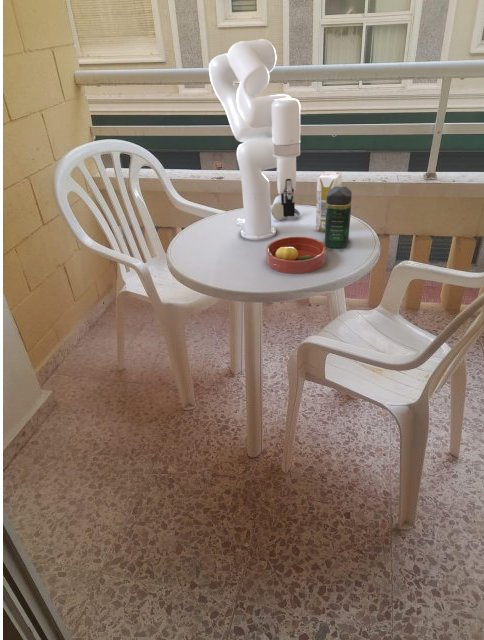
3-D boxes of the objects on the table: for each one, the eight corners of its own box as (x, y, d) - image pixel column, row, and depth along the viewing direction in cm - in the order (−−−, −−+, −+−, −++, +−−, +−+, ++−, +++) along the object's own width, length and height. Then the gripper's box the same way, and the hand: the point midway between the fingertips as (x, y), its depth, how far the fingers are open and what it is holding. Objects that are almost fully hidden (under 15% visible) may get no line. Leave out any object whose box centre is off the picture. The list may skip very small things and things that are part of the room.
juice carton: (314, 231, 162) (315, 177, 151) (320, 222, 168) (322, 170, 157) (335, 233, 159) (337, 178, 148) (340, 224, 166) (343, 171, 155)
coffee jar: (347, 251, 147) (351, 194, 137) (322, 249, 149) (324, 193, 138) (349, 238, 155) (353, 184, 144) (326, 237, 157) (328, 183, 146)
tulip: (276, 264, 141) (275, 251, 139) (275, 257, 145) (274, 244, 143) (316, 262, 141) (317, 249, 138) (315, 255, 145) (315, 242, 142)
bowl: (256, 268, 141) (255, 255, 138) (283, 245, 154) (282, 233, 151) (310, 279, 133) (311, 266, 130) (334, 254, 146) (334, 241, 143)
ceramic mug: (270, 220, 172) (270, 201, 168) (274, 213, 179) (273, 193, 174) (298, 222, 170) (298, 201, 166) (301, 214, 177) (301, 194, 172)
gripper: (271, 143, 131) (273, 201, 141) (274, 157, 117) (276, 221, 127) (297, 141, 131) (297, 200, 141) (303, 156, 117) (303, 219, 127)
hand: (287, 210), depth 134 cm, fingers open, 9 cm apart
